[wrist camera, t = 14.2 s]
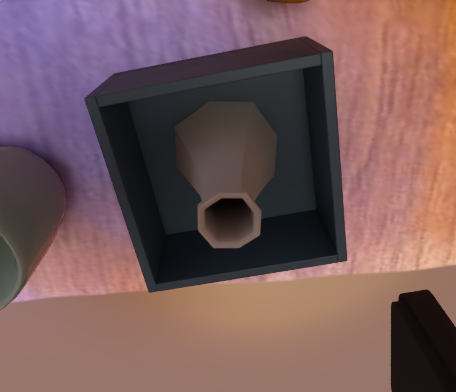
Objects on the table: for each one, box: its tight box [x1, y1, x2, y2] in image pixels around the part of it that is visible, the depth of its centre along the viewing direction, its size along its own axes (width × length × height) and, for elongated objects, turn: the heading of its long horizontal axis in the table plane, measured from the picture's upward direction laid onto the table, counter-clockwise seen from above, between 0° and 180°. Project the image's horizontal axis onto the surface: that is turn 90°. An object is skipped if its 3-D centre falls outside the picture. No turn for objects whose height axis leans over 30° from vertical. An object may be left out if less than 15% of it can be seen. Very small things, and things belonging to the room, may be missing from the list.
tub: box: [85, 37, 347, 292], centre depth 27 cm, size 13×13×7 cm
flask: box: [175, 101, 277, 248], centre depth 25 cm, size 7×7×10 cm
